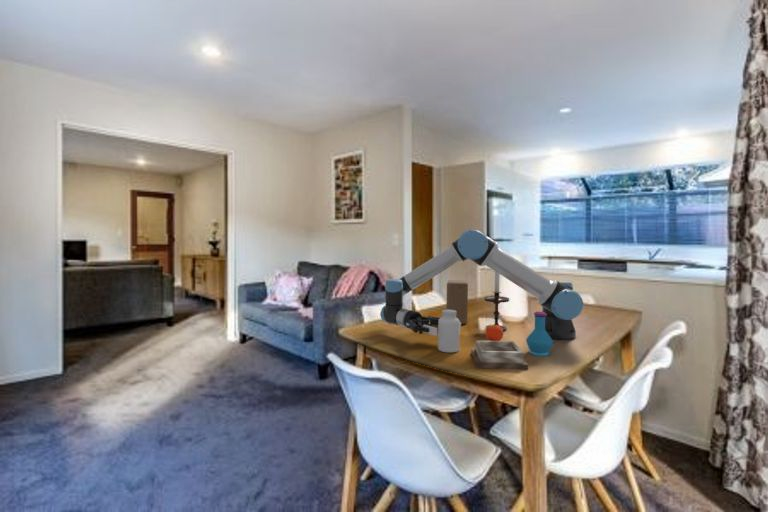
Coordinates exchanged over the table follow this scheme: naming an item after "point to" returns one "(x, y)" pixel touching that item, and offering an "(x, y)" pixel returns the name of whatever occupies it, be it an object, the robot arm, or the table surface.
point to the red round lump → (494, 332)
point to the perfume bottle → (539, 337)
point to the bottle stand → (498, 355)
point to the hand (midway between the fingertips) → (448, 328)
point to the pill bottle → (448, 332)
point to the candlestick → (496, 301)
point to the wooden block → (458, 299)
